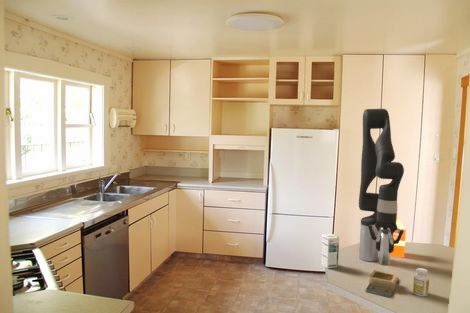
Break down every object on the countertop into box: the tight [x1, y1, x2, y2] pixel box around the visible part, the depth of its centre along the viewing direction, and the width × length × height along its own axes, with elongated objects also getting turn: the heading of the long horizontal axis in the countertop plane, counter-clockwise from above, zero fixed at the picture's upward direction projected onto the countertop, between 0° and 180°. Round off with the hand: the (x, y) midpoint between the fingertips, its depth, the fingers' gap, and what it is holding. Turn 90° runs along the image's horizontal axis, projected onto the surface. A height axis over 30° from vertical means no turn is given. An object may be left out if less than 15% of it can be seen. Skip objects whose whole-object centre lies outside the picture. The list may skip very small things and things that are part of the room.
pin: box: [378, 229, 392, 267], centre depth 148 cm, size 5×5×15 cm
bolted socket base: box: [365, 269, 399, 298], centre depth 149 cm, size 21×9×4 cm, turn 148°
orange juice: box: [390, 216, 407, 258], centre depth 188 cm, size 8×9×20 cm
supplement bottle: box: [412, 267, 430, 297], centre depth 142 cm, size 5×5×10 cm
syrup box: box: [320, 233, 340, 270], centre depth 168 cm, size 6×6×14 cm
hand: (384, 251), depth 148 cm, fingers closed on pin, 4 cm apart
